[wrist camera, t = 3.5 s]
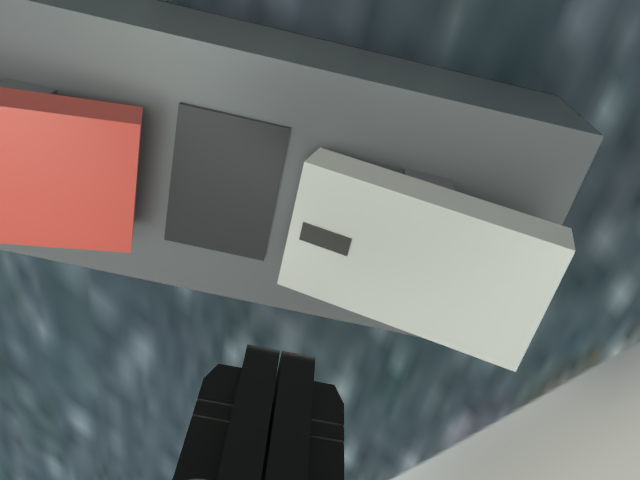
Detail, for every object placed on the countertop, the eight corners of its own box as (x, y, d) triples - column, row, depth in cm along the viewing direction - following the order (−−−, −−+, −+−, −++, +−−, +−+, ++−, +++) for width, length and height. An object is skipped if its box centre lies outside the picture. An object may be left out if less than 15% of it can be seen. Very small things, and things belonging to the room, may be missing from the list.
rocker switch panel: (555, 95, 23) (616, 146, 18) (477, 284, 27) (507, 371, 22) (-42, -48, 22) (-169, -38, 16) (-27, 176, 26) (-124, 240, 21)
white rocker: (571, 228, 18) (575, 251, 16) (516, 343, 20) (515, 373, 18) (320, 147, 19) (303, 162, 17) (293, 262, 21) (276, 284, 19)
